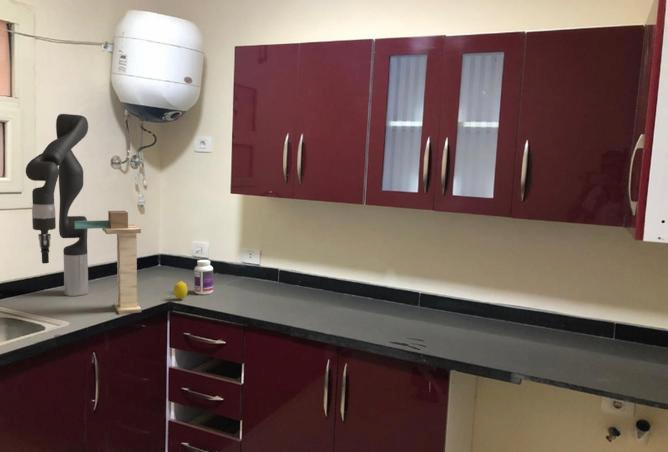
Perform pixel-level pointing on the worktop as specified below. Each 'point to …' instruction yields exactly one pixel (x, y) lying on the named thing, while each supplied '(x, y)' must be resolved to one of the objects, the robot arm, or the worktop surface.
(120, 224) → the mallet
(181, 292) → the lemon
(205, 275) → the pill bottle
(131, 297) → the stand
